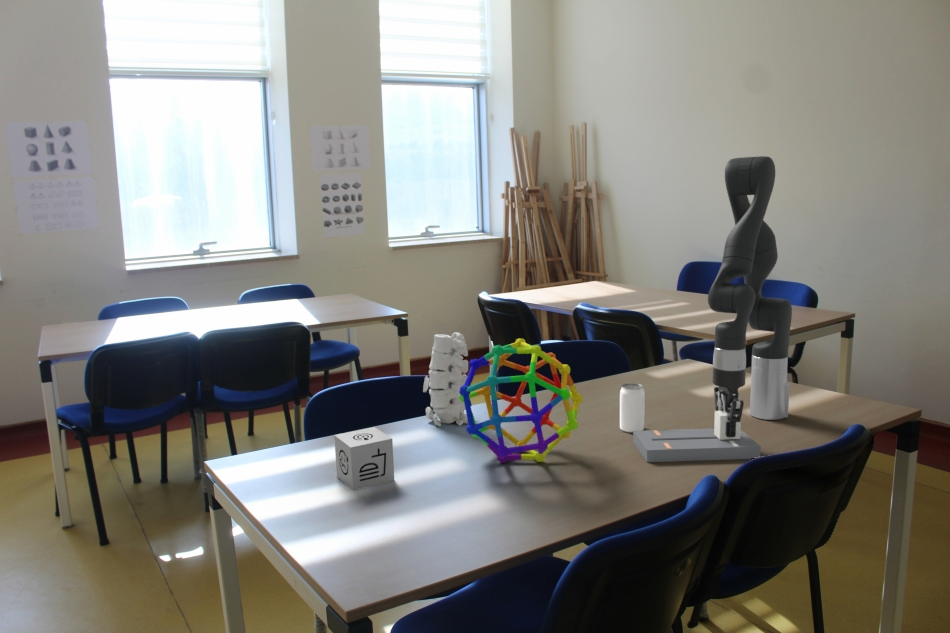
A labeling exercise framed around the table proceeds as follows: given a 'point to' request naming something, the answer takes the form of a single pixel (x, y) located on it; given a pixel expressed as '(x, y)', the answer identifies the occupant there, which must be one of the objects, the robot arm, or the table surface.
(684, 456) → the slide board
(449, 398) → the anatomical model
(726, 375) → the robot arm
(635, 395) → the can
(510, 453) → the geometric model
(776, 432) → the table surface
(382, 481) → the icon cube
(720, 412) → the fader cap
